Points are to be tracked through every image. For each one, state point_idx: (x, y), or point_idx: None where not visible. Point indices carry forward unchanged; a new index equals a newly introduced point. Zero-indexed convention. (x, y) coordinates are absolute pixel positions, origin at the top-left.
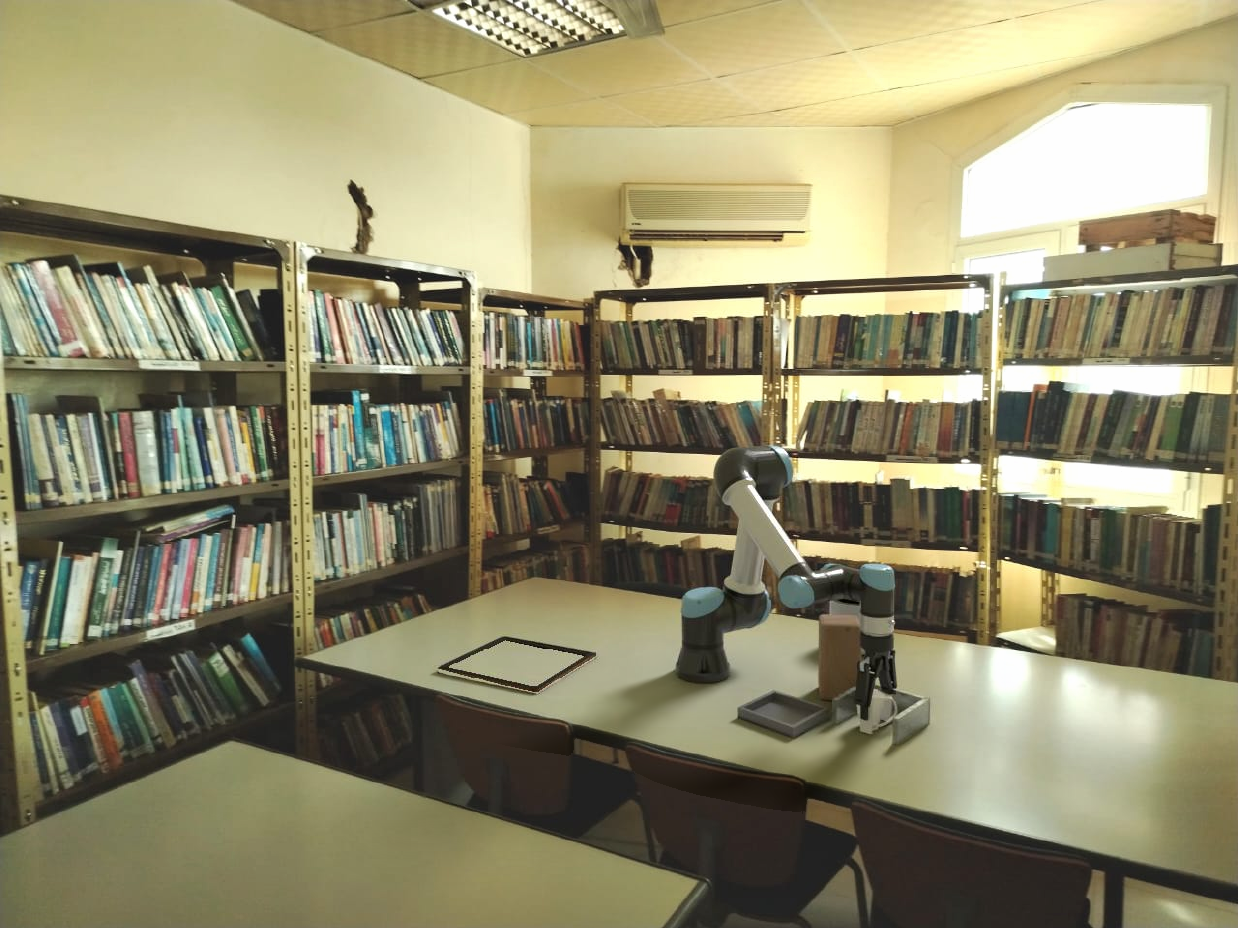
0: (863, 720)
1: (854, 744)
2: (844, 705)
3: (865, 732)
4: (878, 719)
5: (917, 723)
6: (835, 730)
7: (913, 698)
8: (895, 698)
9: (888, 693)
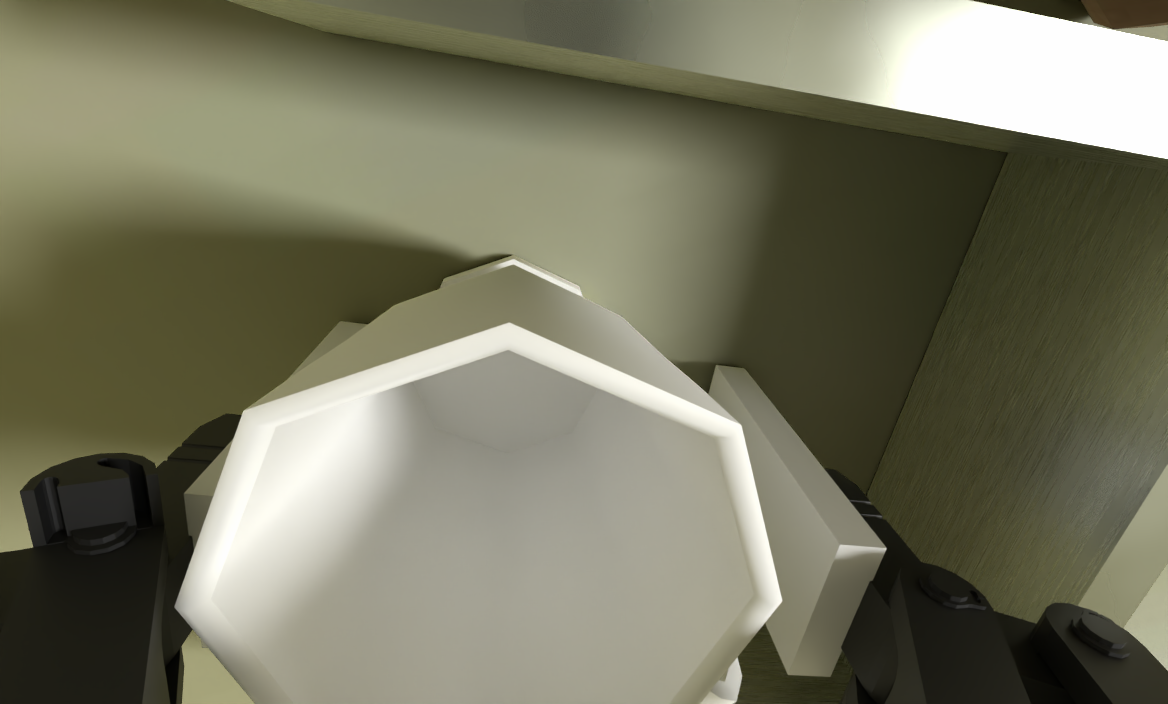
0: None
1: (55, 376)
2: (496, 50)
3: None
4: (479, 492)
5: None
6: (174, 89)
7: None
8: (1001, 522)
9: (845, 648)
